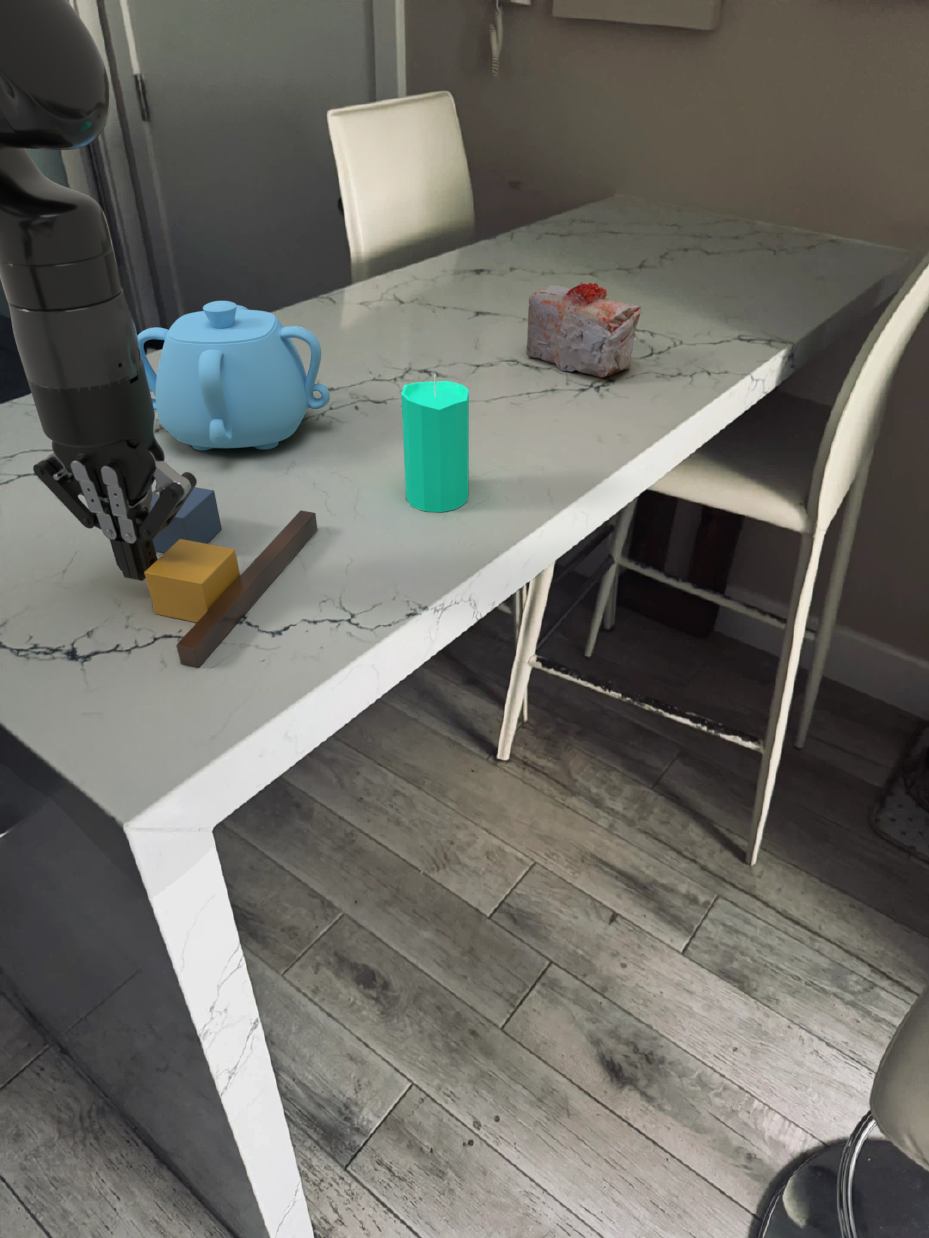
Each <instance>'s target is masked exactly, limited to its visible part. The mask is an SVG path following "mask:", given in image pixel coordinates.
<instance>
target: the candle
mask: <svg viewBox="0 0 929 1238" xmlns="http://www.w3.org/2000/svg"><path fill="white" fill-rule="evenodd" d="M400 393H401V394H400V396H401V397H400V398H401V400H400V401H401V418H402V440H403V459H404V461H403V463H404V485H405V499H406V501H407V503H409V505H410V506H411V507H413V508H415V509H418V510H420V511H423V512H428V513H429V512H430V513H445V512H449V511H454V510H457V509H460V507H463V505H465V504H467V502H468V499H469V495H470V494H469V493H470V491H469V489H470V488H469V487H470V485H469V484H470V481H469V480H470V479H469V477H470V476H469V474H470V471H469V469H470V468H469V467H470V466H469V465H470V463H469V462H470V390H469V388H467V387H466V386H465V385H463V384H461V383H459V382H454V381H450V380H437V376H436V374H434V375H433V381H419V382H416V381H415V382H411V383H407V384H404V385H403V388H402V391H401V392H400Z"/></svg>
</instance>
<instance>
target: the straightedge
mask: <svg viewBox="0 0 929 1238" xmlns="http://www.w3.org/2000/svg"><path fill="white" fill-rule="evenodd" d="M317 531H318V522H317V513H316V512H313V511H307V510H303V509H302V510H299V511H298V512H297V513H296V514H295V516H294V517H293V518H292V519H291V520H290V521H289V522H288V523H287V524H286V525H285V526H284V528H283V529H281V531H280V532H279V533H278V534H277V535H276V536H275V537H274V538H273V539H272V541H271V542H270V543H269V544H268V545H267V546H265V548H264V549H263V550H262V551H261V552H260V553H259V554H258V556H257V557H256V558H255V559H254V560H253V561H252V562H251V563H250V564H249V565H248V567H246V568H245V570H243V572H242V573H241V574H240V576H239V578H238V579H237V580H236V581H235V582H234V583H233V584H232V585H231V586H230V587H229V588H228V589H227V591H226V592H225V593H224V594H223V595H222V596H221V597H220V598H219V599H218V600H217V601H216V602H215V604H214V605H213V606H212V607H211V608H210V609H209V610H208V611H207V612H206V613H205V614H204V615H203V617H202V618H201V619H200V620H199V621H198V622H195V624H194V625H193V626H192V627H191V628H190V629H189V630H188V632H187V633H186V634H185V635H184V636H183V637H182V638H181V639H180V640H179V641H178V642H177V643H176V651H177V654H178V657H179V662H180V664H181V665H183V666H189V667H193V668H197V669H198V668H201V666H202V665H203V663H204V662H205V661H206V660H207V659H208V658H209V657H210V655H211V654H212V653H213V652H214V651H215V649H217V647H218V646H219V645H220V644H221V643H222V641H223V640H224V639H225V638H226V637H227V635H229V633H230V632H231V631H232V630H233V628H234V627H235V626H236V625H237V624H238V623H239V622H240V621H241V619H242V618H243V617H244V616H245V614H247V612H248V611H249V610H250V609H251V608H252V607H253V606H254V604H256V602H258V600H259V598H260V597H261V596H262V595H263V594H264V593H265V591H266V590H268V588H269V587H270V586H271V584H272V583H273V582H274V581H275V580H276V579H277V578H278V576H279V575H280V574H281V573H282V572H283V571H284V569H285V568H286V567H287V566H288V565H289V564H290V562H291V561H292V560H293V559H294V558H295V557H296V555H297V554H299V552H300V551H301V550H302V549H303V547H304V546H305V545H306V544H307V543H308V541H310V540H311V538H312V537H313V536H314V535H315V534H316V532H317Z"/></svg>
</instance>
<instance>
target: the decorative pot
mask: <svg viewBox="0 0 929 1238" xmlns="http://www.w3.org/2000/svg"><path fill="white" fill-rule="evenodd" d="M137 336H138V340H139V345H140V349H141V354H142V358H143V363H144V367H145V372H146V376H147V381H148V385H149V390H150V393H152V394H153V395H154V397H155V398H153V397H151V398H152V403H153V407H154V411H156V413H157V418H158V421H159V422H160V424H161V426H162V427H163V428H164V429H165V430H166V431H167V433H169V434H170V435H171V436H172V437H173V438H174V439H176V441H178V442H180V443H183V444H185V445H190V446H192V449H193V450H197V451H209V450H213V449H239V448H249V447H254V448H255V449H257V450H262V451H263V450H271V449H274V448H276V447H277V446H278V445H279V442H282V441H284V440H286V439H288V438H290V437H291V436H292V435H293V434H294V433H295V432H296V431H297V430H298V428H299V426H300V424H301V423H302V421H303V419H304V417H305V416H306V413H307V410H308V408H309V409H312V410H319V409H322V408H324V407H326V406H327V405H328V404H329V402H330V398H331V393H330V391H329V388H328V387H327V386H326V385H325V384H323V383H316V381H317V377H318V374H319V370H320V366H321V361H322V347H321V343H320V341H319V339H318V338H317V336H316V335H315V334H314V333H313V332H311V331H310V330H309V329H307V328H305V327H301V326H299V325H288V326H284V325H283V324H282V323H281V321H280V320H279V319H278V317H277V316H276V315H274V314H273V313H271V312H269V311H264V310H257V309H248V308H247V307H246V306H243V305H240V304H237V303H235V302H233V301H229V300H215V301H211V302H210V301H209V302H208V303H206V304H204V305H203V306H202V310H201V311H200V310H199V311H195V312H190V313H186V314H183V315H181V316H180V317H178V318H177V319H176V320H175V321H174V322H173V323H172V324H171V326H170V327H169V329H167V328H163V327H158V326H157V327H149V328H146V329H144V330H142V331H141V332H139V334H137ZM293 339H298V340H301V341H303V342H304V343H306V344H307V345H308V347H309V349H310V362H309V363H310V364H309V367H308V370H307V373H306V368H305V366H304V362H303V360H302V358H301V357H302V356H301V355H300V353H299V351H298V348H297V347H296V345H295V343H294V341H293ZM150 340H159V341H164V342H163V346H162V349H161V354H160V356H159V357H160V358H159V361H158V366H157V370H156V372H155V370H154V368H153V367H152V365H151V363H150V361H149V360H148V357H147V355H146V352H145V348H144V344H145V343H146V342H147V341H150ZM314 392H319V394H320V396H321V397H318V398H317V397H315V396H314Z"/></svg>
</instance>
